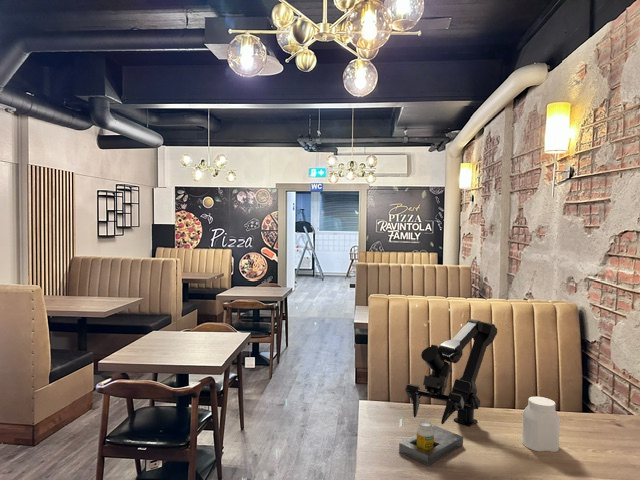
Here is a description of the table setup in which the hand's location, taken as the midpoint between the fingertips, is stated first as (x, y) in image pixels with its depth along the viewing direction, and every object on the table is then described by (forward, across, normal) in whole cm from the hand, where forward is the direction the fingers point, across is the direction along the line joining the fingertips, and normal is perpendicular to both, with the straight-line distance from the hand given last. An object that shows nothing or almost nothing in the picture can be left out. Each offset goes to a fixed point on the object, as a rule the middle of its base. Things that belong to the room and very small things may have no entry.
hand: (428, 420), depth 150 cm
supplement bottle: (+9, 0, +5) cm, 10 cm away
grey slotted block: (+7, +1, +7) cm, 10 cm away
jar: (-10, +31, +25) cm, 41 cm away
